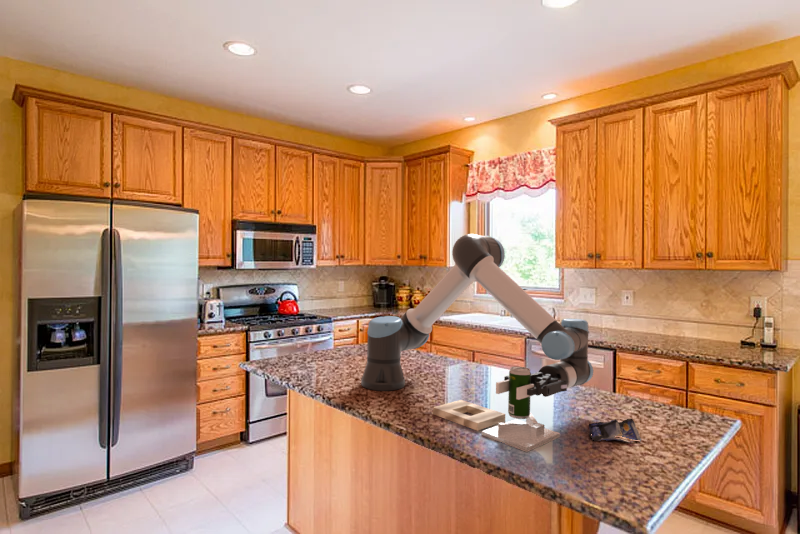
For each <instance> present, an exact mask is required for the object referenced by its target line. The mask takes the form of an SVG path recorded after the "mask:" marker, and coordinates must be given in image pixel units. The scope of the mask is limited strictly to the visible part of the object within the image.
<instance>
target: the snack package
mask: <svg viewBox="0 0 800 534" xmlns="http://www.w3.org/2000/svg"><path fill="white" fill-rule="evenodd" d="M588 428H589V434H588V435H589V437H590V439H591V438H592V439H591V440H592V441H593V440H594V441H593V442H599V441H600V442H601V440H606V441H614V440H615V441H620V442H624V441H625V442H624V443H628V440H624V439H620V438H614V437H615V436H622V437H626V438H629V439H632V440H640V442H641V441H642V438H641V436H640V432H639V430H638V429H637V427H636V423H635V421H634V419H633V418H627V419H624V420H621V421H618V419H616V418H615V419H611V420H610V421H597V422H591V423H589V424H588ZM591 434H592V436H591Z"/></svg>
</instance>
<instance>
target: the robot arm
mask: <svg viewBox="0 0 800 534" xmlns="http://www.w3.org/2000/svg"><path fill="white" fill-rule="evenodd" d="M451 253H452V259H453V262H454V265H453V266H452V267H451V268H450V269H449V271H448V272H447V273H446V274H445V275H444V276H443V277H442V279H440V280H439V282H438V283H437V284H436V285H435V286H434V287H433V288H432V289H431V290H430V292H429V293H427V295H426V296H424V298H423V299H422V300H421V301H420V302H419V303H418V304H417V305H416V306H415V307H414V308H409V309H407V310H406V312H404V314H403V315H401V317H399V316H395V315H393V316H392V315H384V316H378V317H374V318H372V319H370V320H369V321H368V327H367V333H366V334H367V345H366V346H367V350H366V351H367V354H366V355H367V356H366V365H365V367H364V371H363V374H362V376H361V380H360V383H361V384H360V385H361V387H363V388H365V389H368V390H372V391H379V392H380V391H396V390H401V389H403V388H405V386H406V379H405V377H404V372H403V369H402V364H401V356H402V355H401V354H402V352H405V351H409V350H416V349H419V348H420V347H422V346H424V345H426V343H427V342H428V340H429V338H430V334H431V332H432V331H433V324H434V323H436V321H437V320H438V319H439V318H441V316H442V315H443V314H444V313H445V312H446V311H447V310H448V309H449V308H450V307H451V306H452V305H453V304H454V302H455V301H457V300H458V299H459V298H460V297H461V295H462V294H464V292H465V291H466V290H467V289H468V288H469V287H470V286H471V285H472V284H473V283H476V282H477V283H478V284H479V285H480V286H481V287H482V288H483V289H484V290H485V291H487V293H489V294H490V295H491V297H493V298H494V300H496V301H497V303H498V304H500V305H501V306H502V307H503V308H504V309H505V310H506V312H508V313H509V314H510V315H511V316H512V317H513V318H514V319H515V320H516V321H517V322H518V323H519V324H520V325H522V327H524V328H525V330H526V331H528V332H529V334H531V336H533V337H534V339H536V340H537V341H538V342H539V343H540V345H541V350H542V351H543V353H544V355H545V356H546V357H548V358H549V359H550V360H551V359H552V360H555V361H556V362H554V363H551V364H547V365H544V366H542V367H541V368H540V369H539V370H538V371H535V373H531V384H529V385H525V386H522V387H518V388H517V393H516V399H518V400H520V399H523V398H526V397H530V398H531V397H532V396H541V395H542V397H544V398H546V397H549V396H552V395H555V394H558V393H561V392H562V393H563V392H567V391H568V389H570V388H575V387H577V386H582V385H584V384H586V383H588V382H589V381H591V379H592V377H593V375H594V367H593V365H592V363H591V362H590V361H589V358H588V356H589V355H588V354H589V353H588V352H589V349H588V348H589V334H590V331H589V322H588V321H587V320H586V319H582V318H569V317H568V318H563V319H562V320H561V323H560V322H558V321H557V319H556V318H555V317H553V315H551V314H550V313H549V312H548V310H546V309H544V307H543V306H542V305H540V304H539V303H538V302H537V301H536V300H535V299H534V298H533V297H532V296H530V294H529V293H527V292H526V291H525V290H524V289H523V288H522V287H521V286H520V285H519V284H518V283H517V282H515V281H514V280H513V279H512V278H511V277H510V276H509V275H508V274H507V273H506V272H505V271H504V270H503V269H501V267H502V265H503V263H504V261H505V254H506V253H505V248H504V246H503V244H502V243H501V241H500V240H499V239H497V238H495V237H493V236H490V235H479V234H476V233H475V234H474V233H467V234H464V235H462V236H460V237H459V238H458V239H456V241H455V243H454V244H453V247H452V251H451ZM559 360H560V361H559ZM557 361H558V362H557ZM503 378H504V379H503V380H502V381H497V382H496V383H495V394H496V395H500V394H504V393H507V392H508V393H509V375H504V377H503Z"/></svg>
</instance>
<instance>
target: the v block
mask: <svg viewBox="0 0 800 534" xmlns="http://www.w3.org/2000/svg"><path fill="white" fill-rule="evenodd" d="M545 426H546V425H545V424H542V423H540V422H538V421H537V419H536V418H535V416H534V415H533V414H532V412H530V415H529V417H528V418H527V419H525V421H523V420H522V419H516V418H514V419H513V420H512V419H511V420H510V421H509V420H508V421H505V422H501V423H498V424H497V425H494V426H493V427H492V426H491V427H488V428H487V429H486V428H485V429H484V430H481V436H484V437H485V438H489V439H491V440H494V441H496V442H499V443H501V442H502V443H501V444H504V443H505V444H504V445H506V446H510V447H512V448H515V449H518V450H520V451H523V452H525V453H528V452H530V451H533V450H534V449H537V448H539V447H541V446H543V444H544V445H545V444H548V443H550V442H552V441H555V440H557V439H559V438H561V433H560V432H558V431H555V430H551V429H548V428H545Z"/></svg>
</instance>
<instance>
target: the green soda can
mask: <svg viewBox="0 0 800 534" xmlns="http://www.w3.org/2000/svg"><path fill="white" fill-rule="evenodd" d="M531 374H532V372H531V369H530V368H529V367H525V366H511V367H510V368H509V372H508V376H509V391H508V398H507V400H508V404H507V407H508V408H507V412H508V416H510V418H513V419H518V420H526V419H527V418H528V417H529V415H530V413H531V396H530V397H526V398H523V399H520V400H518V399H516V393H517V388H518V387H522V386H525V385H529V384H531Z"/></svg>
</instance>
